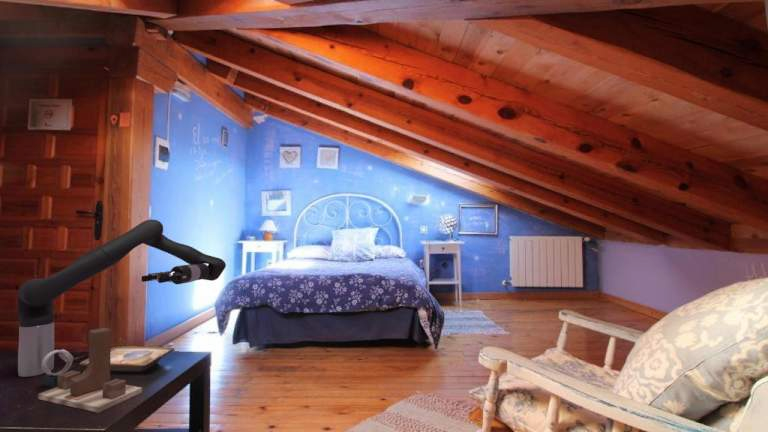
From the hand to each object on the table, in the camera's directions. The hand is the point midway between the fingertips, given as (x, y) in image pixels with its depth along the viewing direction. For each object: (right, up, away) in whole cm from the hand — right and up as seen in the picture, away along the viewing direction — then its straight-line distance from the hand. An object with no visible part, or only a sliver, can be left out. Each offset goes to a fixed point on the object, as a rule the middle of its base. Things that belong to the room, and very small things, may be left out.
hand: (150, 279), depth 139 cm
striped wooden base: (-2, -32, -26) cm, 41 cm away
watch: (-20, -32, -17) cm, 41 cm away
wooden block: (-2, -30, -25) cm, 40 cm away
